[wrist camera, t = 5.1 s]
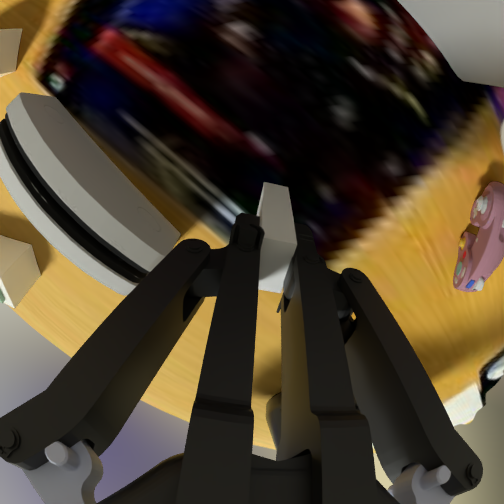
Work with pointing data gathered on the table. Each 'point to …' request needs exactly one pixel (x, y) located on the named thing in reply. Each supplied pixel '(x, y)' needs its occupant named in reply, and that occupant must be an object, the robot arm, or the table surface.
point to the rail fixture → (3, 248)
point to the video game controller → (482, 241)
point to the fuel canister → (465, 35)
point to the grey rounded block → (79, 195)
